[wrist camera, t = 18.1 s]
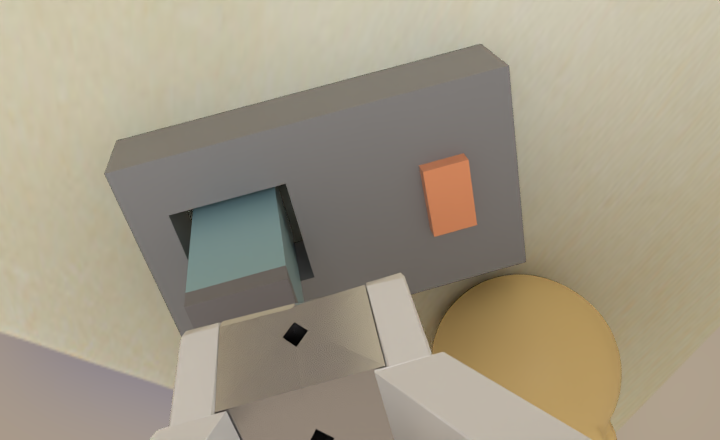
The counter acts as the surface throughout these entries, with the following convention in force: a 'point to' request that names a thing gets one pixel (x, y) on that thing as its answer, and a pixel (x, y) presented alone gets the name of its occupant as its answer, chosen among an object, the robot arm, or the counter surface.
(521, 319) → the sculpture
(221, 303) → the plug
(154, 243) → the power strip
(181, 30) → the counter surface
